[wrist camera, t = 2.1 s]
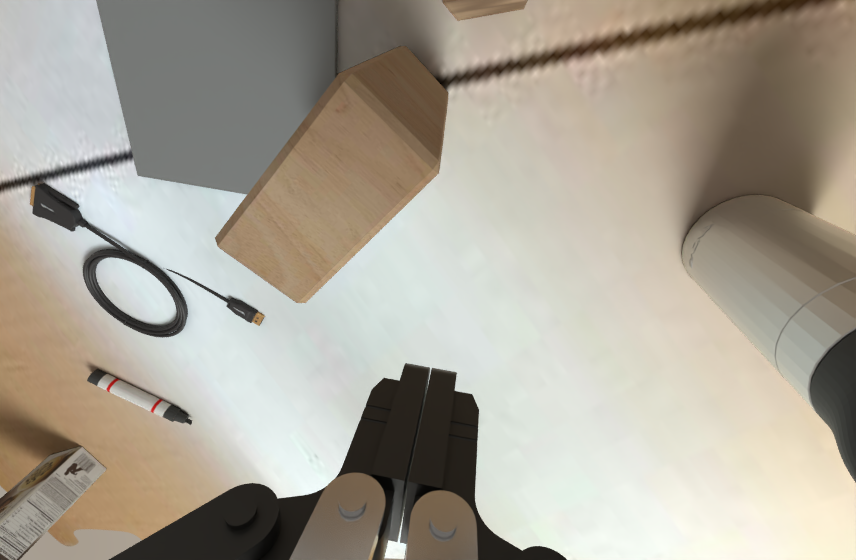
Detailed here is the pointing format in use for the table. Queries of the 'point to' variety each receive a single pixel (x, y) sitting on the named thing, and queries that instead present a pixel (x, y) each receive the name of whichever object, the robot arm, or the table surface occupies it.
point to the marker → (138, 397)
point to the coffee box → (44, 499)
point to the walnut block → (481, 7)
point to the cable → (68, 216)
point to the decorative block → (341, 174)
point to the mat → (217, 82)
